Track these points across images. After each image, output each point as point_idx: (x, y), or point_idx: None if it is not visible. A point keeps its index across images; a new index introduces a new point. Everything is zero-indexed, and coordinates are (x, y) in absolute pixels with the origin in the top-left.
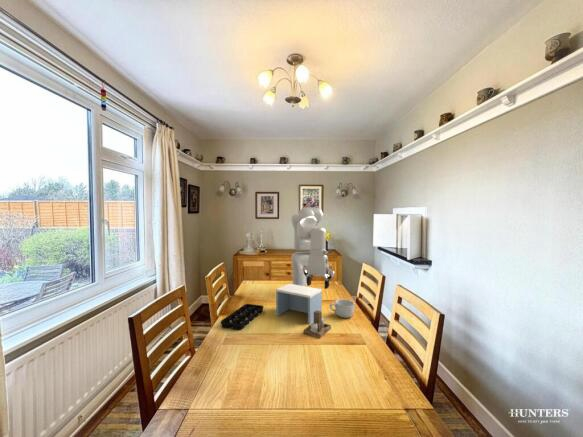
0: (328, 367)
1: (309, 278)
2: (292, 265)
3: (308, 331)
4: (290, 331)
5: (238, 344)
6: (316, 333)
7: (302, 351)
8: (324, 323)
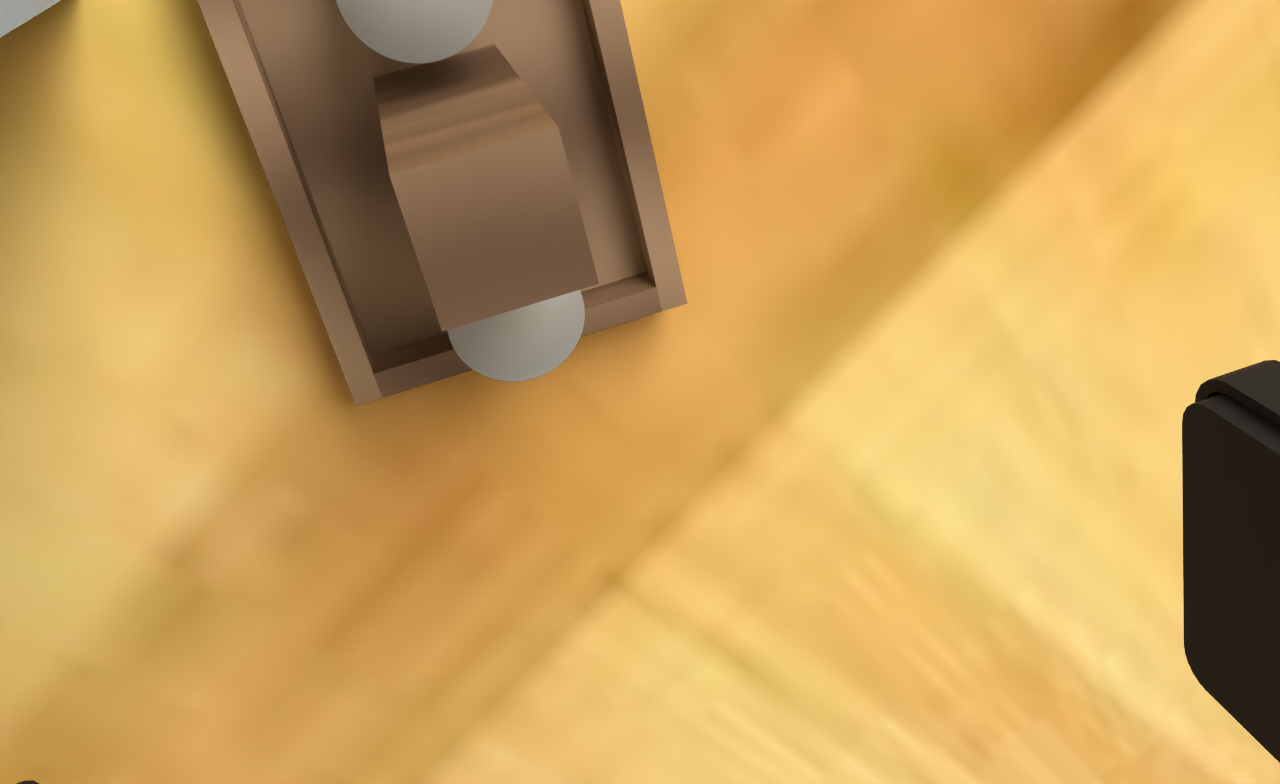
0: (1112, 649)
1: None
2: None
3: (454, 371)
4: (138, 503)
5: None
6: (612, 323)
7: (728, 682)
8: None
